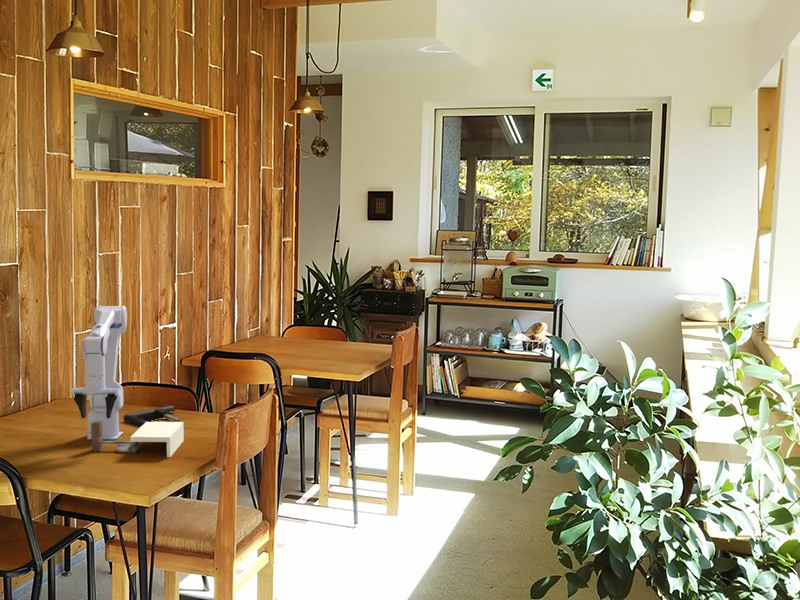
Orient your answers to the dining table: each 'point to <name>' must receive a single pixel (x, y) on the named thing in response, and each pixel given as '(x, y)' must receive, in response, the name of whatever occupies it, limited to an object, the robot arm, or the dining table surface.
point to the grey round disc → (124, 447)
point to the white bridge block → (161, 434)
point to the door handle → (150, 415)
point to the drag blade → (97, 441)
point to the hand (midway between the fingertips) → (96, 417)
